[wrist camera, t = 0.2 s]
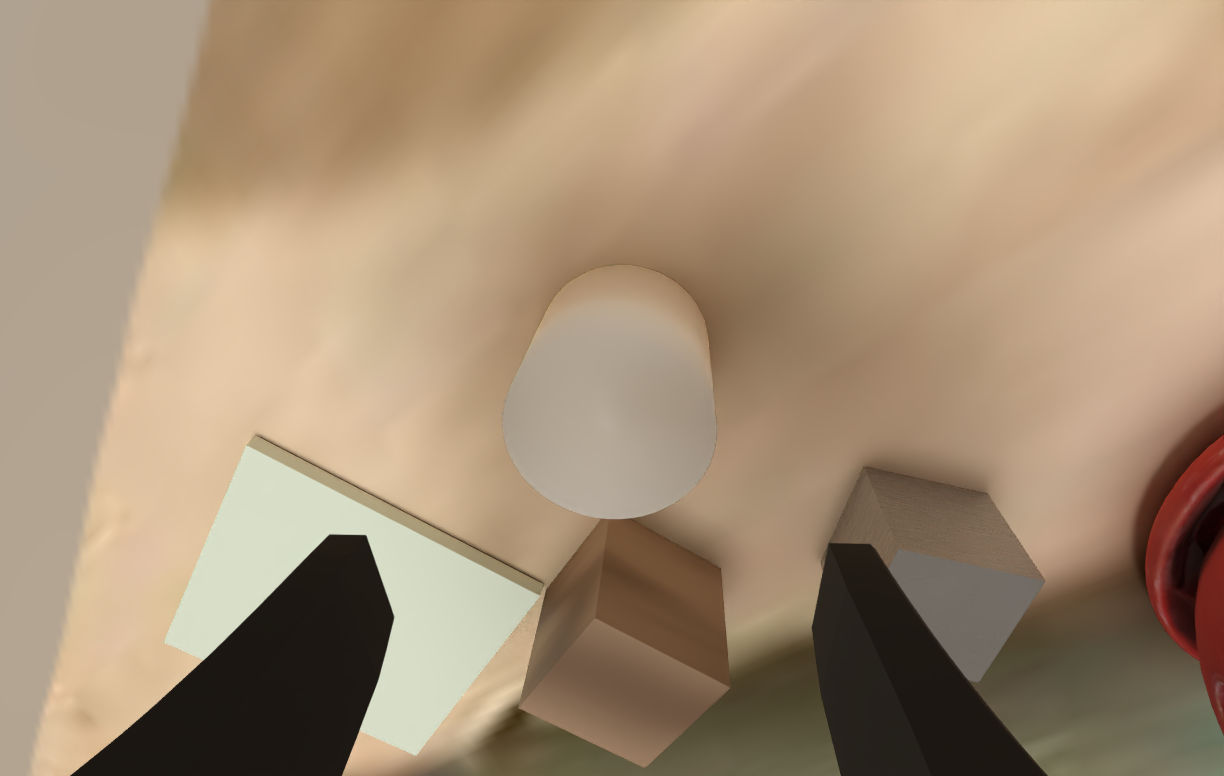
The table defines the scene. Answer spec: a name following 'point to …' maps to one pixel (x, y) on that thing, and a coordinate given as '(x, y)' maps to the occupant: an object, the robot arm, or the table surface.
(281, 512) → the plate
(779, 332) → the table surface
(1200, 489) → the plant pot
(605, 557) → the walnut block
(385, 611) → the robot arm
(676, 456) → the white rounded dome
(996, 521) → the grey metal block
